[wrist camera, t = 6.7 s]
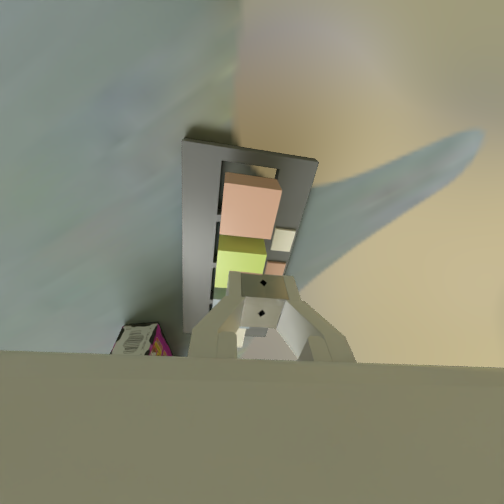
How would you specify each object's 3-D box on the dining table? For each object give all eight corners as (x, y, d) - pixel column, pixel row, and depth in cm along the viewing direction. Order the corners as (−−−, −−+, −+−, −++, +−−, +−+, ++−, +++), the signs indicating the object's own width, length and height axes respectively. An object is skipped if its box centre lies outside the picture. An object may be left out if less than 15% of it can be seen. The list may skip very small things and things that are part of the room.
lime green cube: (220, 228, 22) (217, 250, 19) (262, 233, 22) (266, 255, 19) (216, 263, 24) (214, 287, 21) (255, 266, 24) (258, 290, 22)
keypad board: (184, 137, 19) (180, 141, 18) (314, 158, 20) (320, 163, 19) (184, 325, 32) (182, 335, 30) (264, 329, 33) (265, 338, 32)
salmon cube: (225, 168, 19) (224, 182, 16) (275, 175, 19) (282, 190, 16) (221, 214, 21) (219, 234, 18) (265, 219, 21) (270, 239, 18)
